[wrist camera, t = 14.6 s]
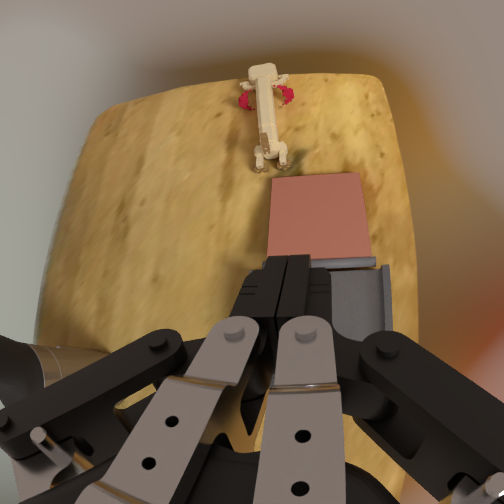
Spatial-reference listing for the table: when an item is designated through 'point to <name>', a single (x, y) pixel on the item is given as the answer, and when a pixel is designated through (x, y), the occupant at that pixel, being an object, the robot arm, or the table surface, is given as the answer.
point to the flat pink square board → (320, 220)
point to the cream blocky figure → (267, 114)
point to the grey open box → (360, 303)
